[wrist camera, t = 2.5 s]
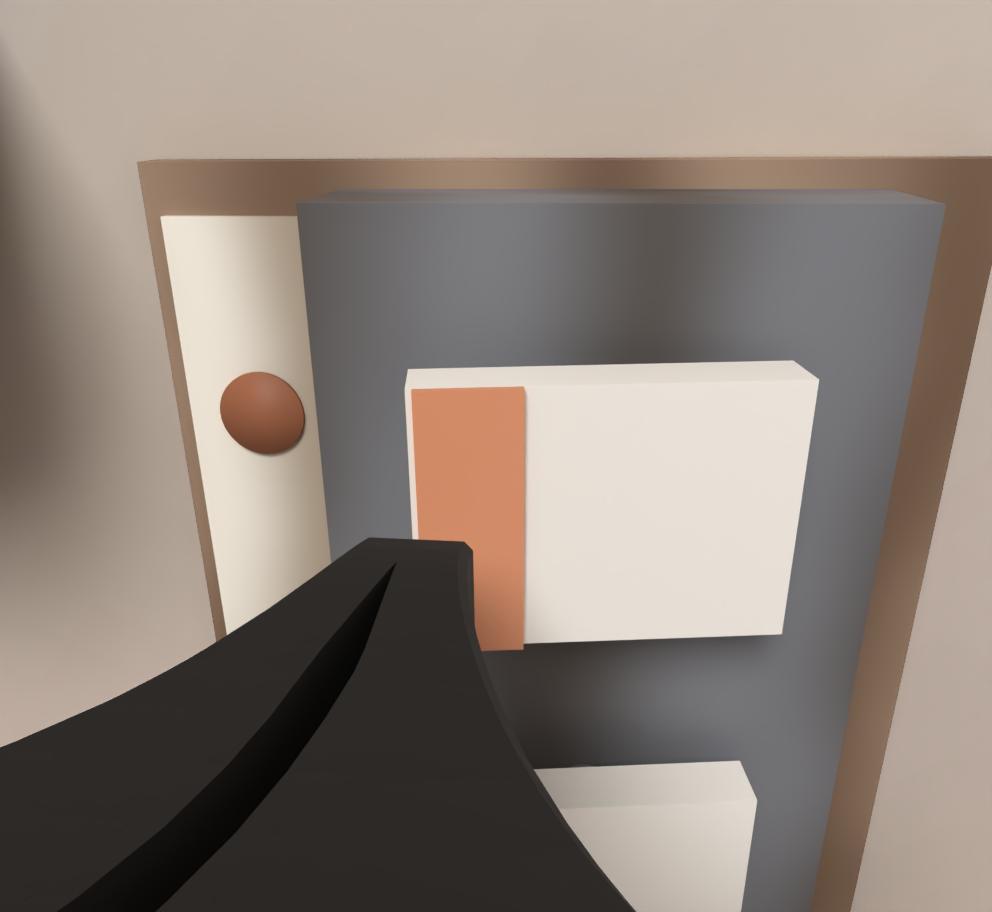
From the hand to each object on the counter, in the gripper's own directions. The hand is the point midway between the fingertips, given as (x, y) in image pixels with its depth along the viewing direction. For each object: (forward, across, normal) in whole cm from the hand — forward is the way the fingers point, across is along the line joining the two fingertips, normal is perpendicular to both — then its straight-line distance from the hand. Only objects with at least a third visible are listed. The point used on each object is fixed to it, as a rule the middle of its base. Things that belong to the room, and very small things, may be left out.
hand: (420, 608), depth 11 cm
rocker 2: (+4, -2, +8) cm, 9 cm away
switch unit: (+8, -1, +8) cm, 11 cm away
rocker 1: (+4, -2, 0) cm, 4 cm away
